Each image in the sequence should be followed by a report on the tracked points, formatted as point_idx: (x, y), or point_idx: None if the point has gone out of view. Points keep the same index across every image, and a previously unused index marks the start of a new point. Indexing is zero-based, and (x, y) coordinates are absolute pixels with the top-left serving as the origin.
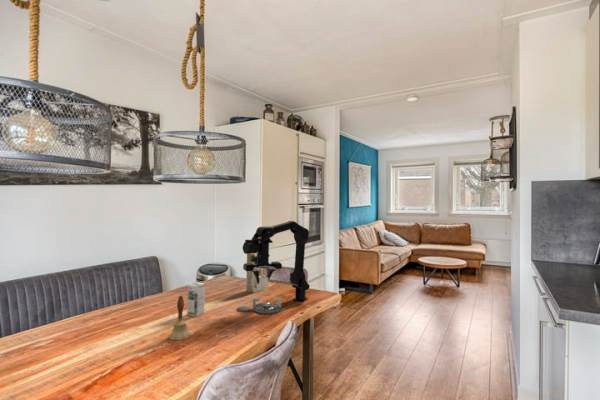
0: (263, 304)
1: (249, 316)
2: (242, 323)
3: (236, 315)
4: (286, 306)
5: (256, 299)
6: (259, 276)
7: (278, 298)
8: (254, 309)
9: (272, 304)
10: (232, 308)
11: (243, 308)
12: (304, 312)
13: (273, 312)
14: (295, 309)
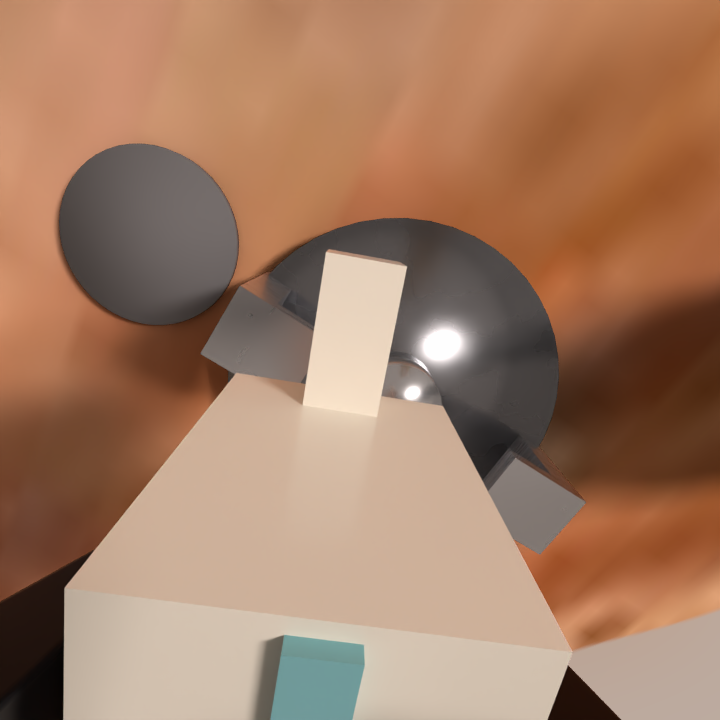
0: (410, 283)
1: (135, 459)
2: (20, 563)
3: (21, 364)
4: (616, 425)
5: (251, 374)
6: (166, 710)
7: (541, 502)
8: (231, 377)
9: (501, 345)
10: (37, 114)
11: (149, 232)
12: (625, 636)
13: None
14: (621, 541)
